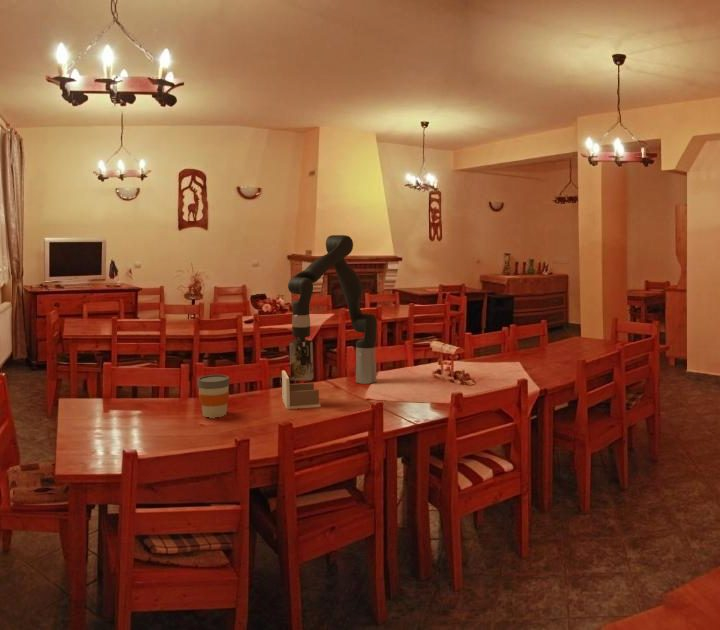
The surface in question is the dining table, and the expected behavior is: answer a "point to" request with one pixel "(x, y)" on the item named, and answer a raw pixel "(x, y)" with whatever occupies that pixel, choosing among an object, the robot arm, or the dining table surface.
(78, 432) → the dining table surface
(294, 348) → the coffee box
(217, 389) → the reusable coffee cup
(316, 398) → the book rack
